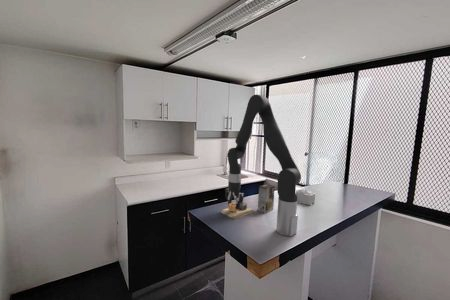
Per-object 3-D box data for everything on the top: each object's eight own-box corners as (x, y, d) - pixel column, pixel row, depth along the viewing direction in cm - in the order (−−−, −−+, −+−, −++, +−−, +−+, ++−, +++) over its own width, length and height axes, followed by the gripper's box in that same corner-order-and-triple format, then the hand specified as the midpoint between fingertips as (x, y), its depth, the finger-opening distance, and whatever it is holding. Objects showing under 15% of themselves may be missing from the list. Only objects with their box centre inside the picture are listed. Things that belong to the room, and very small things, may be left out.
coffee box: (265, 207, 144) (266, 183, 142) (273, 209, 139) (275, 185, 137) (257, 210, 137) (258, 185, 135) (265, 213, 133) (267, 188, 131)
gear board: (253, 211, 134) (254, 201, 134) (234, 219, 123) (235, 207, 122) (239, 206, 143) (239, 196, 142) (220, 212, 131) (221, 201, 131)
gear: (240, 209, 130) (240, 204, 129) (233, 212, 126) (233, 207, 125) (233, 206, 134) (233, 202, 134) (226, 208, 130) (226, 204, 130)
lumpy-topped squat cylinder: (309, 205, 149) (310, 193, 148) (292, 200, 158) (293, 189, 158) (315, 202, 156) (316, 191, 155) (299, 198, 166) (300, 187, 165)
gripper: (247, 182, 125) (246, 209, 127) (230, 177, 136) (229, 202, 138) (239, 184, 120) (237, 212, 122) (221, 179, 131) (221, 205, 132)
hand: (233, 207), depth 130 cm, fingers closed on gear, 6 cm apart
